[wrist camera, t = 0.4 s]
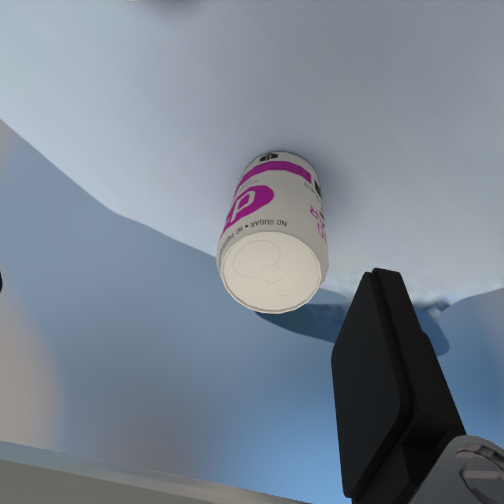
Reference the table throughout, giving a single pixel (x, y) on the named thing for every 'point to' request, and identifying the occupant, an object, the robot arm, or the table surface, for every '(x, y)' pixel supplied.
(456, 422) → the robot arm
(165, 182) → the table surface
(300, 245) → the supplement can
